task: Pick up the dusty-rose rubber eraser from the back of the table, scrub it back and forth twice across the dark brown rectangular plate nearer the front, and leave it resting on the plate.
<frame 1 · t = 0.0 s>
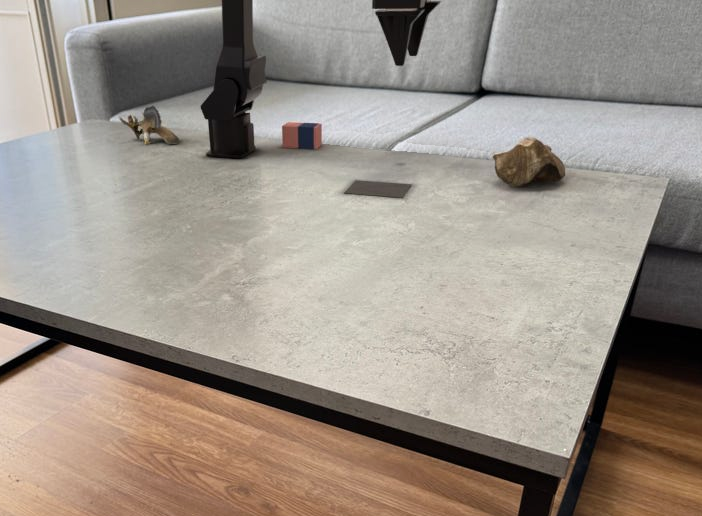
hand: (406, 60, 99), 15 cm above the table, tool pointing down, fingers open, 9 cm apart
dark brown rectangular plate: (378, 189, 96), on the table
fossilized seashell: (526, 183, 96), on the table
eraser: (302, 146, 118), on the table
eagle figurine: (153, 143, 125), on the table
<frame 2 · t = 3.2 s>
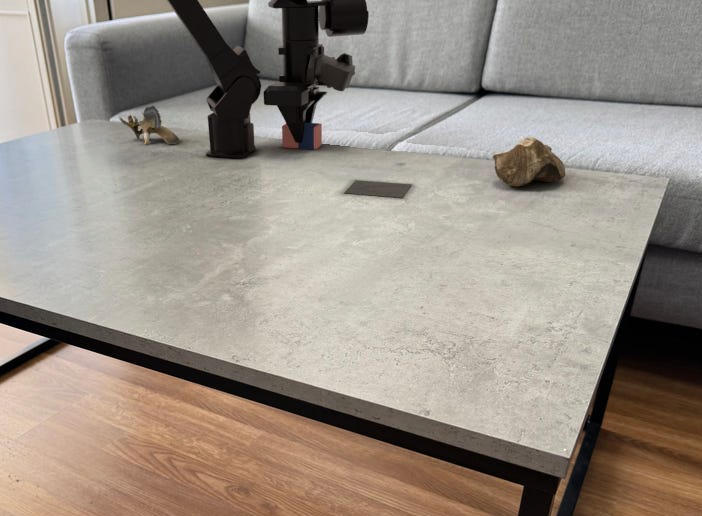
hand: (302, 140, 117), 1 cm above the table, tool pointing down, fingers closed on eraser, 3 cm apart
eraser: (302, 146, 118), on the table, touching gripper
everything else where it was.
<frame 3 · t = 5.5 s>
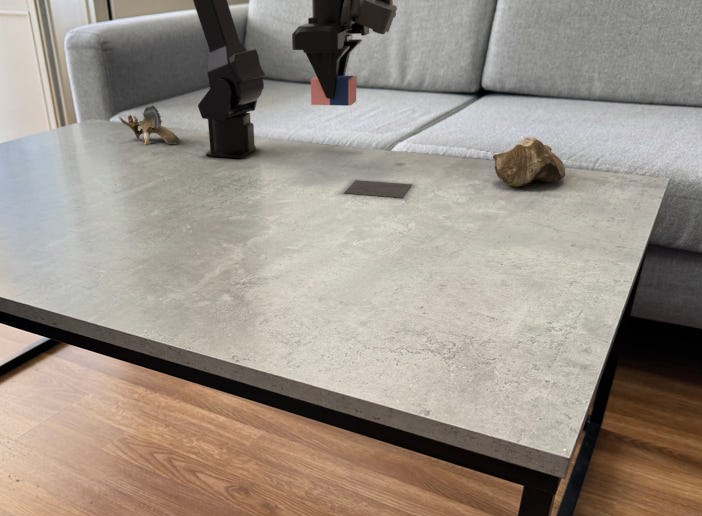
hand: (333, 96, 101), 10 cm above the table, tool pointing down, fingers closed on eraser, 3 cm apart
eraser: (333, 103, 102), point 9 cm above the table, touching gripper
everything else where it was.
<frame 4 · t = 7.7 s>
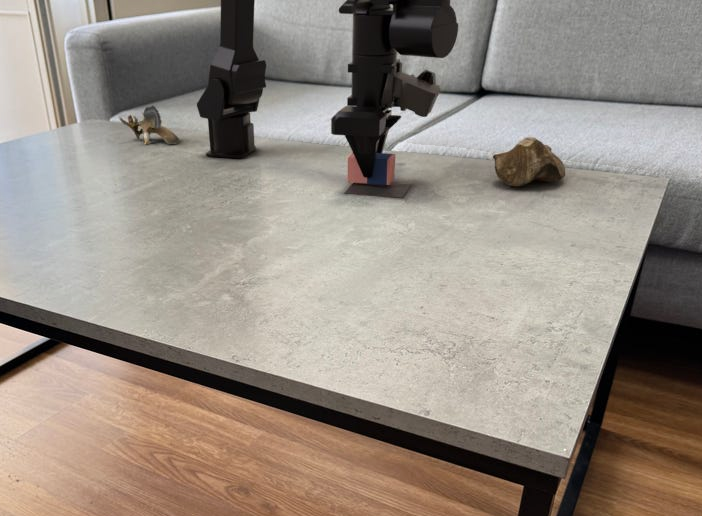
hand: (370, 173, 98), 1 cm above the table, tool pointing down, fingers closed on eraser, 3 cm apart
eraser: (370, 180, 98), resting on dark brown rectangular plate, touching gripper
everything else where it was.
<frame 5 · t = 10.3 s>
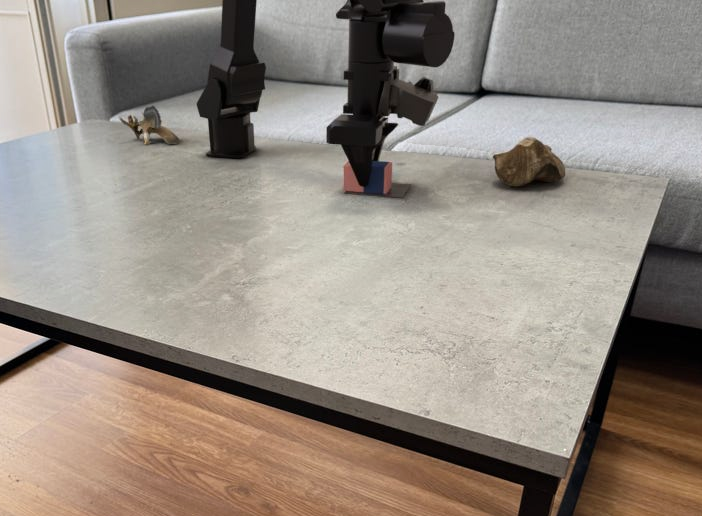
hand: (366, 182, 95), 1 cm above the table, tool pointing down, fingers closed on eraser, 3 cm apart
eraser: (367, 189, 96), resting on dark brown rectangular plate, touching gripper
everything else where it was.
when the fingers open (1 cm above the table, at t = 12.1 s): eraser stays where it is, resting on dark brown rectangular plate.
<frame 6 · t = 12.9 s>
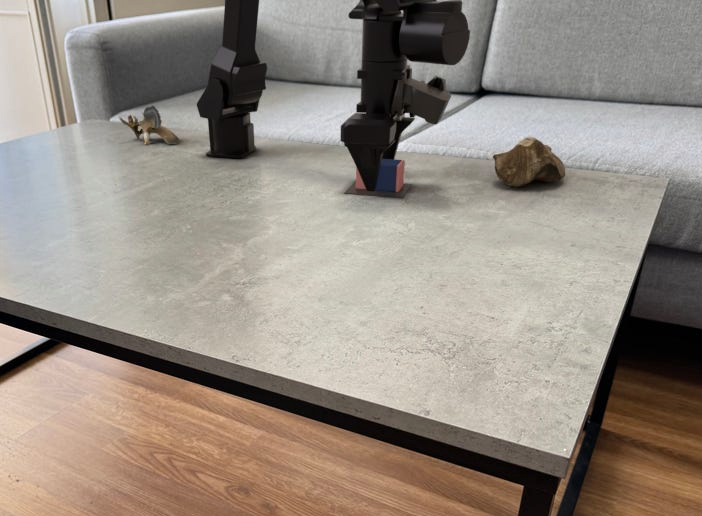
hand: (379, 181, 96), 1 cm above the table, tool pointing down, fingers open, 9 cm apart
eraser: (379, 187, 97), resting on dark brown rectangular plate
everything else where it was.
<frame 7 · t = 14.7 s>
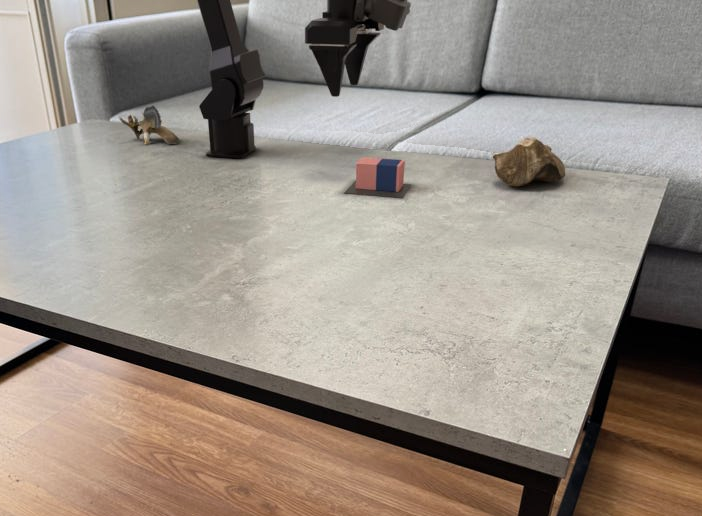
hand: (345, 90, 102), 11 cm above the table, tool pointing down, fingers open, 9 cm apart
nothing on the table moved.
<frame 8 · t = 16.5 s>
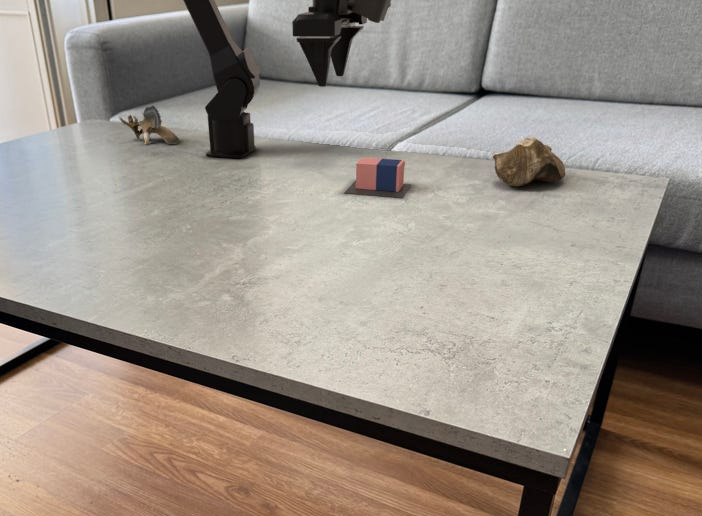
hand: (331, 81, 108), 11 cm above the table, tool pointing down, fingers open, 9 cm apart
nothing on the table moved.
at the end: eraser inside the target area on the dark brown rectangular plate (0.5 cm from its centre), point 0.1 cm above the dark brown rectangular plate's base; the gripper is holding nothing; eraser tilted 0° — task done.
